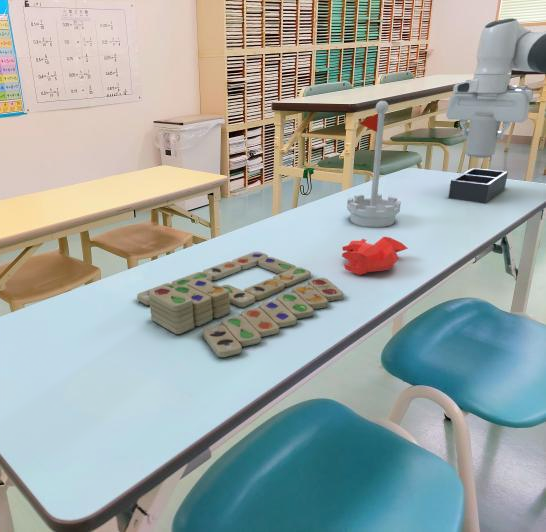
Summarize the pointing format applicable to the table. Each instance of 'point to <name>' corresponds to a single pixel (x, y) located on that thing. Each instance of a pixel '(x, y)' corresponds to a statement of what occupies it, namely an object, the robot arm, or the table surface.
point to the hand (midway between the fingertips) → (482, 137)
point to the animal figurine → (372, 255)
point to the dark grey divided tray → (478, 185)
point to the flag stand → (374, 184)
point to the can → (482, 136)
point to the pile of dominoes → (238, 302)
